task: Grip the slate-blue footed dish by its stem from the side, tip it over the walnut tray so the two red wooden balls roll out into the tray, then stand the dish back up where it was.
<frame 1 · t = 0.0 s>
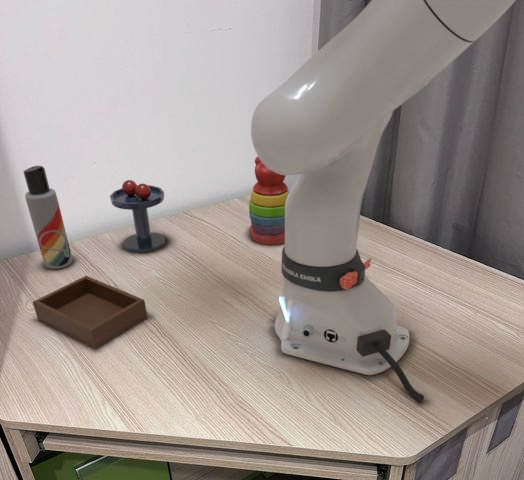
footed dish: (145, 243, 120), on the table, touching ball a, ball b
ball b: (129, 187, 114), point 12 cm above the table, touching footed dish
stacking bear: (271, 236, 122), on the table
lotion bottle: (59, 264, 113), on the table
walnut tray: (92, 318, 95), on the table
ball a: (143, 191, 112), point 12 cm above the table, touching footed dish
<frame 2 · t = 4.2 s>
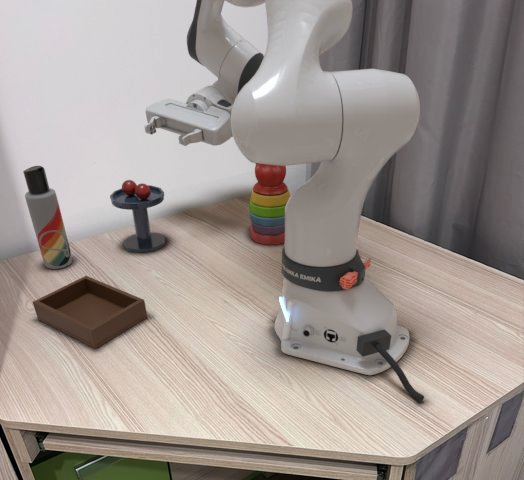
hand: (164, 136, 112), 21 cm above the table, tool horizontal, fingers open, 8 cm apart
nothing on the table moved.
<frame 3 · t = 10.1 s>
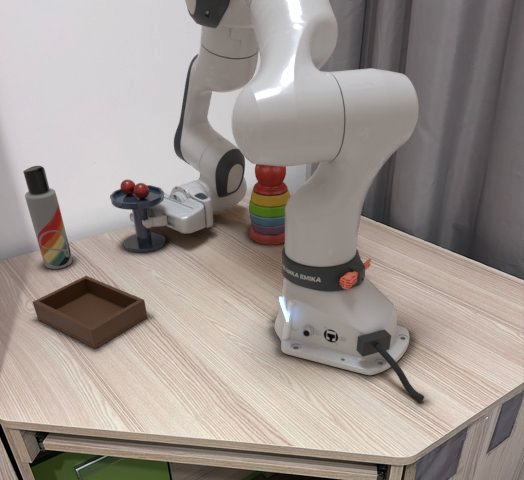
hand: (137, 221, 116), 6 cm above the table, tool horizontal, fingers closed on footed dish, 3 cm apart
footed dish: (145, 243, 120), on the table, touching ball a, ball b, gripper
ball b: (128, 187, 114), point 12 cm above the table, tilted 20°, touching footed dish
ball a: (141, 191, 112), point 12 cm above the table, tilted 20°, touching footed dish
everything else where it was.
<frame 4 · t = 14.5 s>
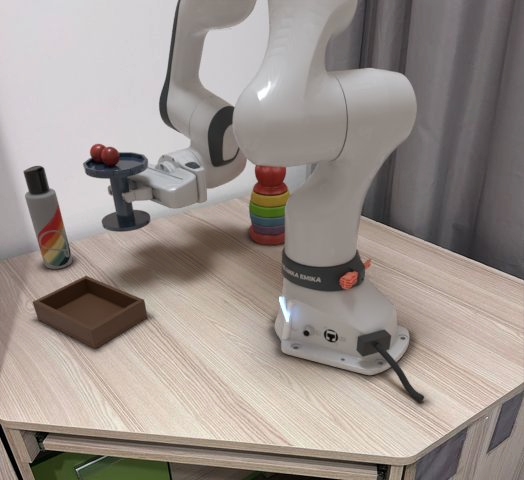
hand: (117, 194, 98), 17 cm above the table, tool horizontal, fingers closed on footed dish, 3 cm apart
footed dish: (126, 222, 101), point 11 cm above the table, touching ball a, ball b, gripper
ball b: (99, 153, 96), point 23 cm above the table, tilted 60°, touching footed dish
ball a: (110, 156, 94), point 23 cm above the table, tilted 89°, touching footed dish
everything else where it was.
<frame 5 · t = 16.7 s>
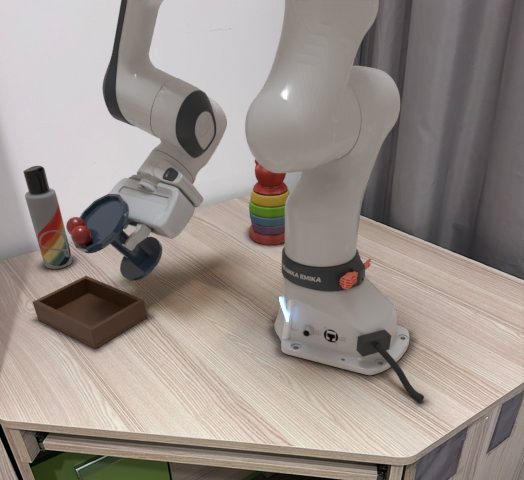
hand: (118, 245, 92), 12 cm above the table, tool tilted 55°, fingers closed on footed dish, 3 cm apart
footed dish: (142, 259, 96), point 8 cm above the table, tilted 36°, touching ball a, ball b, gripper
ball b: (76, 226, 88), point 16 cm above the table, tilted 95°, touching ball a, footed dish
ball a: (81, 235, 86), point 15 cm above the table, tilted 114°, touching ball b, footed dish
everything else where it was.
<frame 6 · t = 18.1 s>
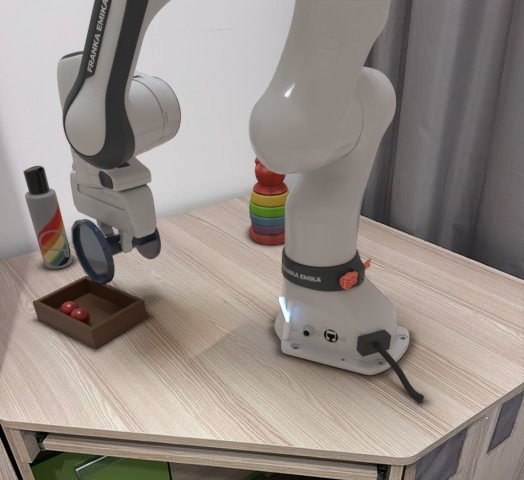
hand: (119, 247, 93), 11 cm above the table, tool pointing down, fingers closed on footed dish, 3 cm apart
footed dish: (145, 233, 96), point 12 cm above the table, tilted 89°, touching gripper
ball b: (70, 310, 93), point 2 cm above the table, tilted 55°, touching walnut tray
ball a: (80, 317, 91), point 2 cm above the table, tilted 66°, touching walnut tray
everything else where it was.
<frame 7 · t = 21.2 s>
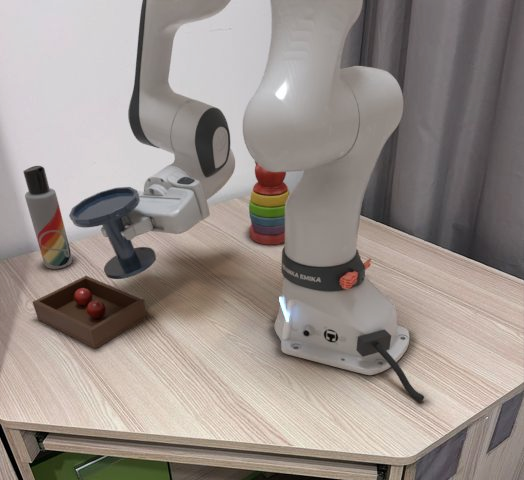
hand: (114, 234, 87), 15 cm above the table, tool horizontal, fingers closed on footed dish, 3 cm apart
footed dish: (130, 264, 91), point 9 cm above the table, tilted 13°, touching gripper
ball b: (83, 297, 97), point 2 cm above the table, tilted 127°, touching walnut tray
ball a: (96, 309, 93), point 2 cm above the table, tilted 110°, touching walnut tray
everything else where it was.
when the fingers open (6 cm above the table, at t = 28.6 s): footed dish stays where it is, on the table.
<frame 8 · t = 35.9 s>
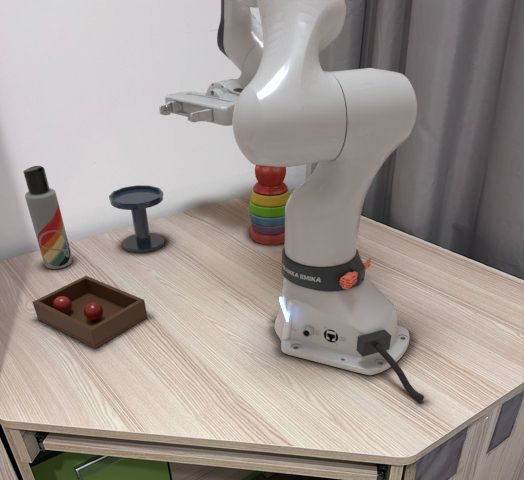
hand: (175, 114, 112), 25 cm above the table, tool horizontal, fingers open, 8 cm apart
footed dish: (144, 243, 120), on the table
ball b: (62, 305, 95), point 2 cm above the table, tilted 60°, touching walnut tray
ball a: (93, 311, 93), point 2 cm above the table, tilted 98°, touching walnut tray
everything else where it was.
at the end: ball a inside the target area in the walnut tray (1.7 cm from its centre), point 2.2 cm above the walnut tray's base; ball b inside the target area in the walnut tray (5.2 cm from its centre), point 2.2 cm above the walnut tray's base; footed dish tilted 0° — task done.
